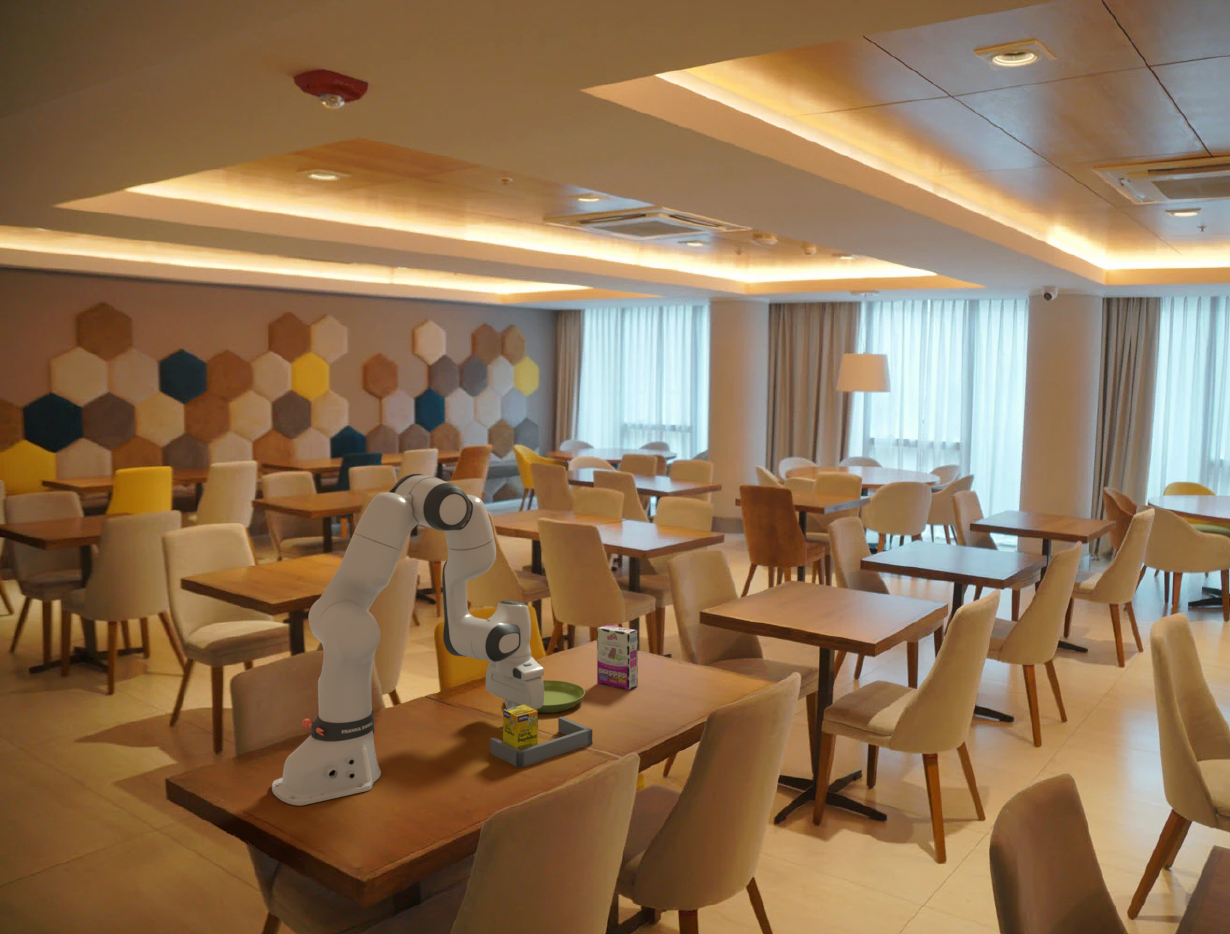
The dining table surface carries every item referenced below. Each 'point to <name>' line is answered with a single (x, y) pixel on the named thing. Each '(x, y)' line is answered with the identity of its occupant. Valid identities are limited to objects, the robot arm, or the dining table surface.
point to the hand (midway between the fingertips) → (513, 717)
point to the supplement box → (520, 727)
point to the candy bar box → (617, 657)
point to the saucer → (560, 696)
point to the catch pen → (544, 745)
